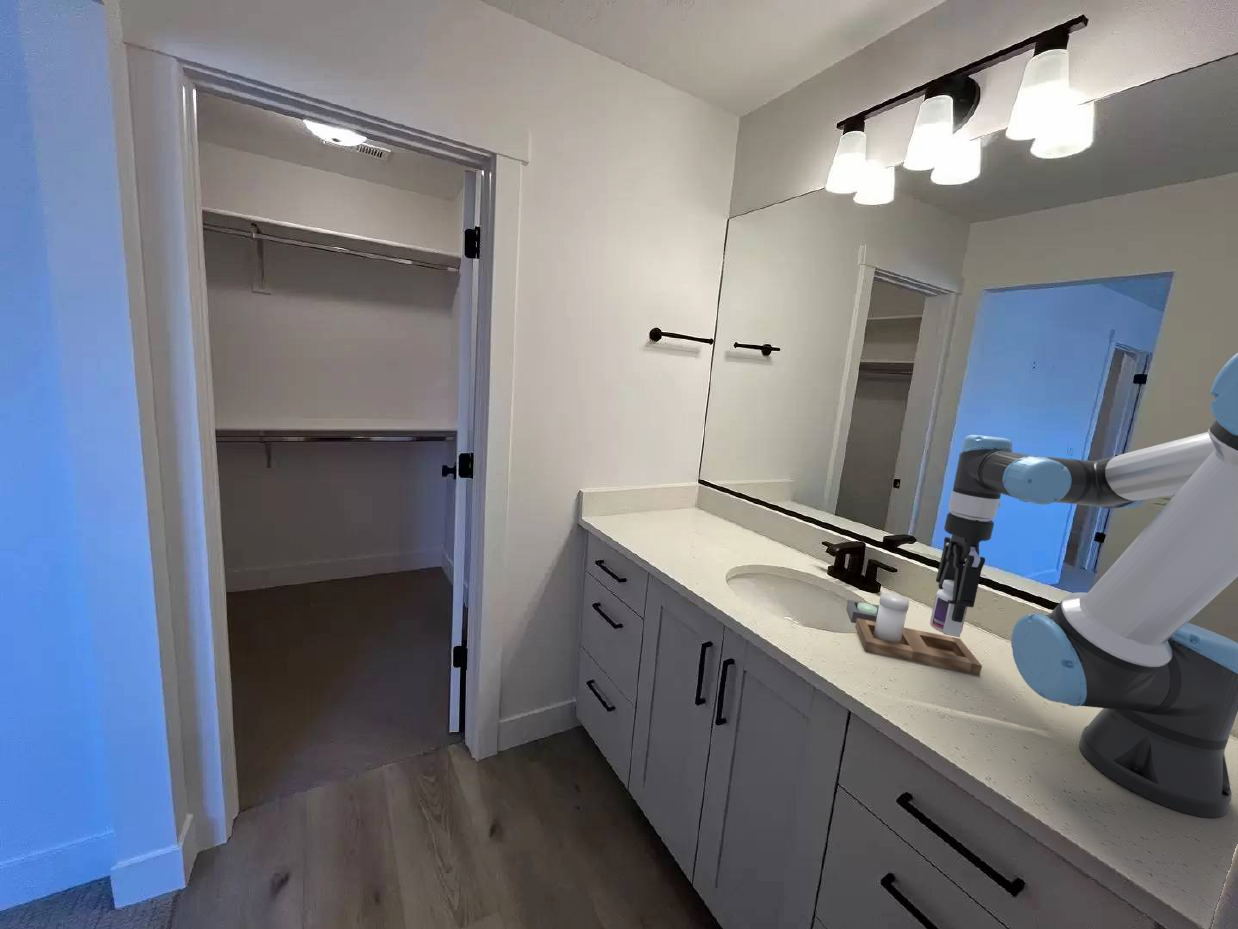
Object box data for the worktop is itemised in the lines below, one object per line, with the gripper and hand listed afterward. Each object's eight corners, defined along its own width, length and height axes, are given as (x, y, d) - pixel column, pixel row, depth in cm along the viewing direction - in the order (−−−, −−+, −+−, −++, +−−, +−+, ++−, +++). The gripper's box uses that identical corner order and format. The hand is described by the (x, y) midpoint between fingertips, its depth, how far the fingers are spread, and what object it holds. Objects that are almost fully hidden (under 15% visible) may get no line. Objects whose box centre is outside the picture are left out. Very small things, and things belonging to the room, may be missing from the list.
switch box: (884, 633, 111) (887, 618, 110) (850, 626, 113) (853, 611, 112) (877, 619, 117) (880, 605, 117) (845, 613, 119) (848, 599, 119)
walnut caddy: (957, 652, 105) (960, 638, 105) (978, 680, 95) (982, 665, 94) (854, 630, 110) (856, 618, 110) (864, 655, 100) (866, 641, 100)
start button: (876, 625, 112) (879, 612, 112) (857, 621, 113) (859, 608, 113) (872, 617, 116) (875, 604, 116) (854, 614, 117) (856, 601, 117)
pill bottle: (966, 638, 97) (977, 591, 96) (935, 633, 98) (946, 586, 97) (953, 625, 103) (964, 580, 101) (925, 620, 104) (934, 576, 102)
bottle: (903, 652, 101) (912, 605, 99) (874, 646, 102) (883, 600, 100) (896, 640, 106) (905, 595, 104) (869, 635, 107) (878, 590, 105)
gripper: (1016, 532, 87) (986, 655, 91) (973, 508, 104) (950, 612, 108) (967, 524, 89) (940, 645, 93) (933, 502, 106) (911, 605, 110)
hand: (945, 627), depth 100 cm, fingers closed on pill bottle, 5 cm apart
